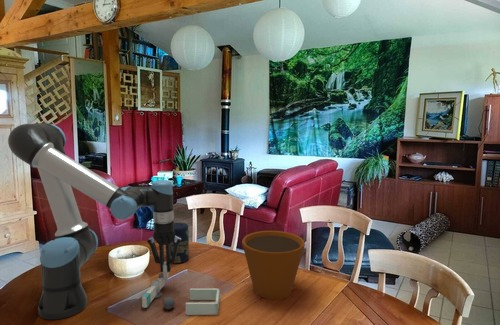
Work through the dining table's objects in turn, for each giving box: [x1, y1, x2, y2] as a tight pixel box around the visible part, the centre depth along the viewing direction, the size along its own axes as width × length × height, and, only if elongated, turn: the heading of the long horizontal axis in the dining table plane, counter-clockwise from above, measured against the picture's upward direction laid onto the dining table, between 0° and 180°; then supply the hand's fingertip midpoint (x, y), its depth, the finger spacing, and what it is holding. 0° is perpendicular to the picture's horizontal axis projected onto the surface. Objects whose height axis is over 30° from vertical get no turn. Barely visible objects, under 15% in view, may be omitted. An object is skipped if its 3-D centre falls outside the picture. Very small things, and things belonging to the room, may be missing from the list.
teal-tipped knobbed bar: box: [141, 272, 165, 309], centre depth 131 cm, size 3×17×5 cm, turn 173°
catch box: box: [185, 288, 221, 316], centre depth 125 cm, size 11×11×4 cm
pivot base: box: [153, 291, 163, 300], centre depth 133 cm, size 4×4×1 cm
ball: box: [162, 296, 176, 310], centre depth 124 cm, size 4×4×4 cm
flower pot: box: [241, 230, 306, 300], centre depth 137 cm, size 24×24×20 cm
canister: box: [170, 222, 190, 264], centre depth 164 cm, size 10×10×18 cm
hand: (166, 279), depth 139 cm, fingers closed
